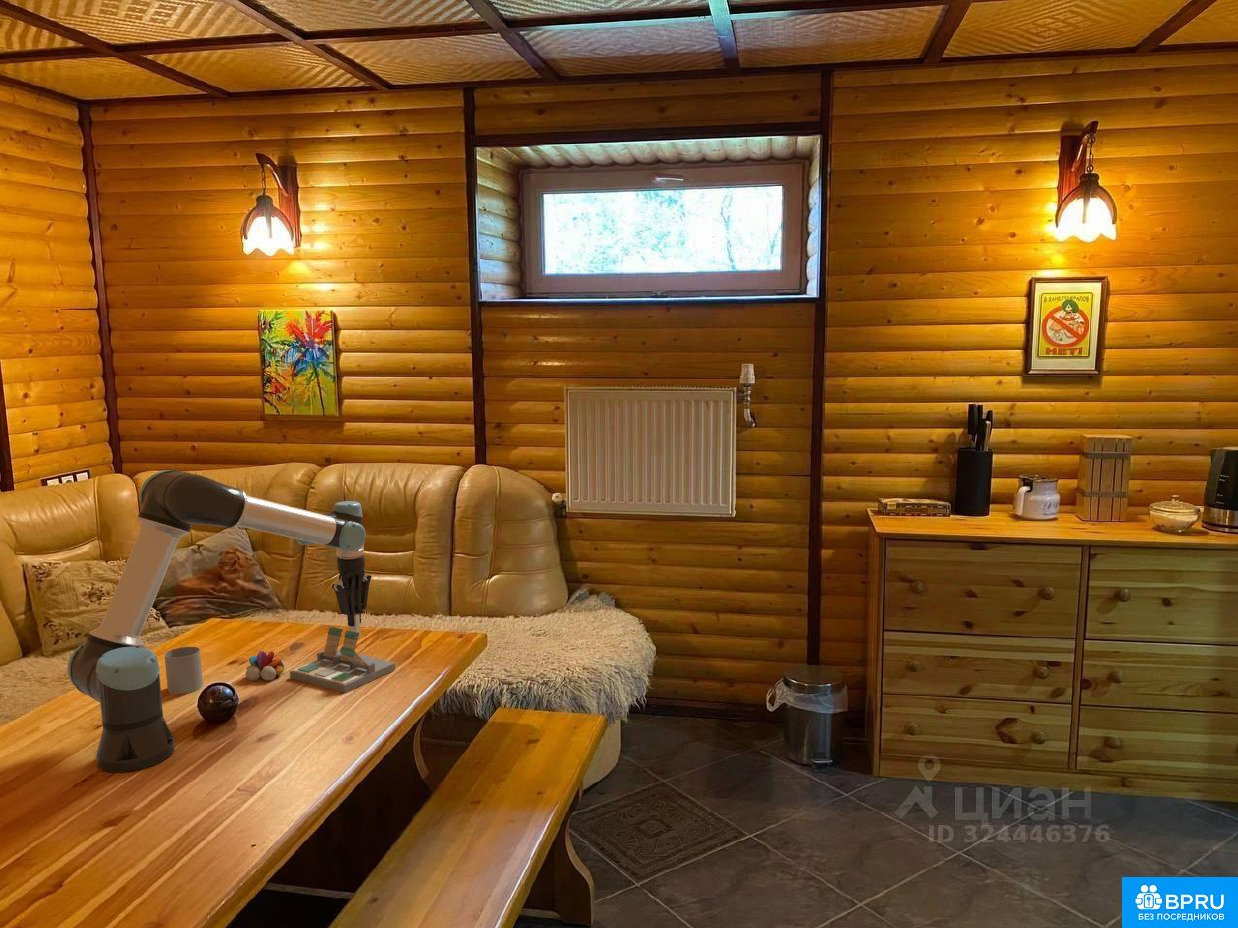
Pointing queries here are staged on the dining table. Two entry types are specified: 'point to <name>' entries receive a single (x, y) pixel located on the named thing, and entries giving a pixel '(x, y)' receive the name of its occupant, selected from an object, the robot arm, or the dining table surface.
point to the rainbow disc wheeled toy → (264, 666)
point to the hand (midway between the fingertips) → (355, 635)
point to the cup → (183, 670)
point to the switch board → (341, 672)
